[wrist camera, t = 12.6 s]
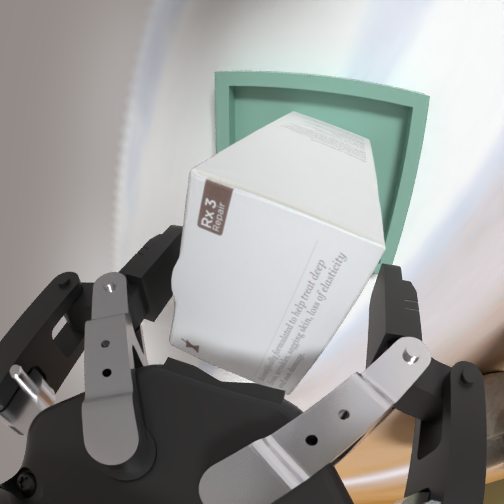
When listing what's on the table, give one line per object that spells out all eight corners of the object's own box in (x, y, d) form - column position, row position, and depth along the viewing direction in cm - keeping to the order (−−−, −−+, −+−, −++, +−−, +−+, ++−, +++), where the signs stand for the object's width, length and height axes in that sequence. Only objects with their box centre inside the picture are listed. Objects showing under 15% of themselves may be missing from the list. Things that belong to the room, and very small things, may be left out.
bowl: (516, 409, 30) (522, 462, 22) (419, 427, 38) (415, 483, 30) (551, 341, 22) (570, 408, 15) (427, 367, 30) (429, 444, 22)
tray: (225, 70, 20) (214, 72, 18) (422, 93, 17) (429, 96, 15) (229, 233, 28) (220, 245, 26) (387, 261, 25) (388, 276, 23)
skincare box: (331, 231, 24) (293, 404, 12) (259, 203, 24) (164, 352, 13) (372, 132, 19) (402, 258, 7) (288, 101, 19) (175, 173, 8)
